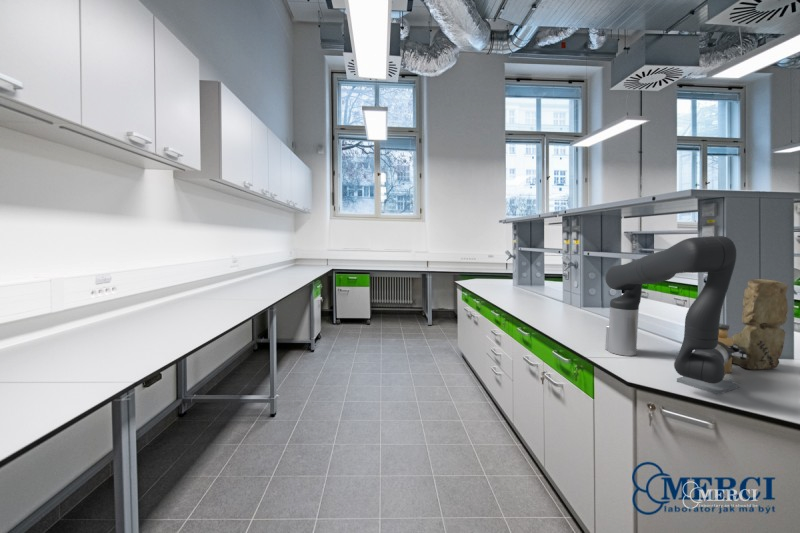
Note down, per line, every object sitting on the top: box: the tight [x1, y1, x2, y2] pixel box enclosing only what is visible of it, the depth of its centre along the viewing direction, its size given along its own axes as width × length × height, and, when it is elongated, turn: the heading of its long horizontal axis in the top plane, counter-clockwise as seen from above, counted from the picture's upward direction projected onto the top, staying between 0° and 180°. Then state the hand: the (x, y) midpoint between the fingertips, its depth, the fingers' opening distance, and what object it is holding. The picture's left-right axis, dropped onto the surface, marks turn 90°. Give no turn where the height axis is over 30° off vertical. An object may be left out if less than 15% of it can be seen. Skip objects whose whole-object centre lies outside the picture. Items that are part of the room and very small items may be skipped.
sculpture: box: [731, 278, 789, 371], centre depth 118 cm, size 12×9×30 cm
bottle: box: [718, 323, 734, 374], centre depth 116 cm, size 6×6×15 cm
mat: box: [676, 376, 741, 396], centre depth 104 cm, size 10×12×1 cm
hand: (722, 344), depth 117 cm, fingers closed on bottle, 5 cm apart
